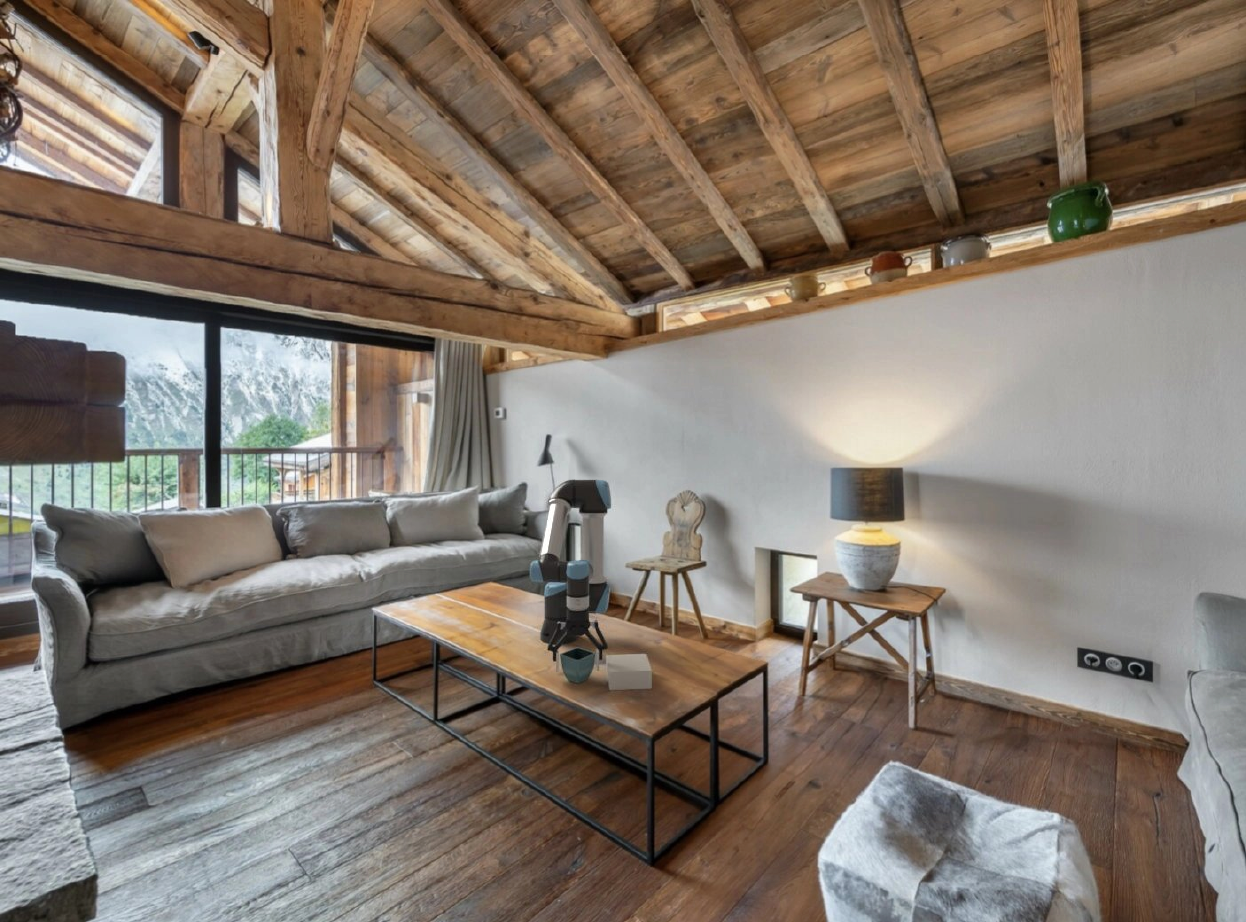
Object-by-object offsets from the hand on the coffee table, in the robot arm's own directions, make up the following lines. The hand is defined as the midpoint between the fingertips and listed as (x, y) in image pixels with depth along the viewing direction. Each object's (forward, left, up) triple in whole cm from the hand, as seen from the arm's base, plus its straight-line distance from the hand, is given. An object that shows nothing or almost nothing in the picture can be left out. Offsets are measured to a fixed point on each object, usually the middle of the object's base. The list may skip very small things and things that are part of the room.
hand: (577, 670), depth 187 cm
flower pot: (0, 0, -4) cm, 4 cm away
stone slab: (+2, +17, -3) cm, 18 cm away
